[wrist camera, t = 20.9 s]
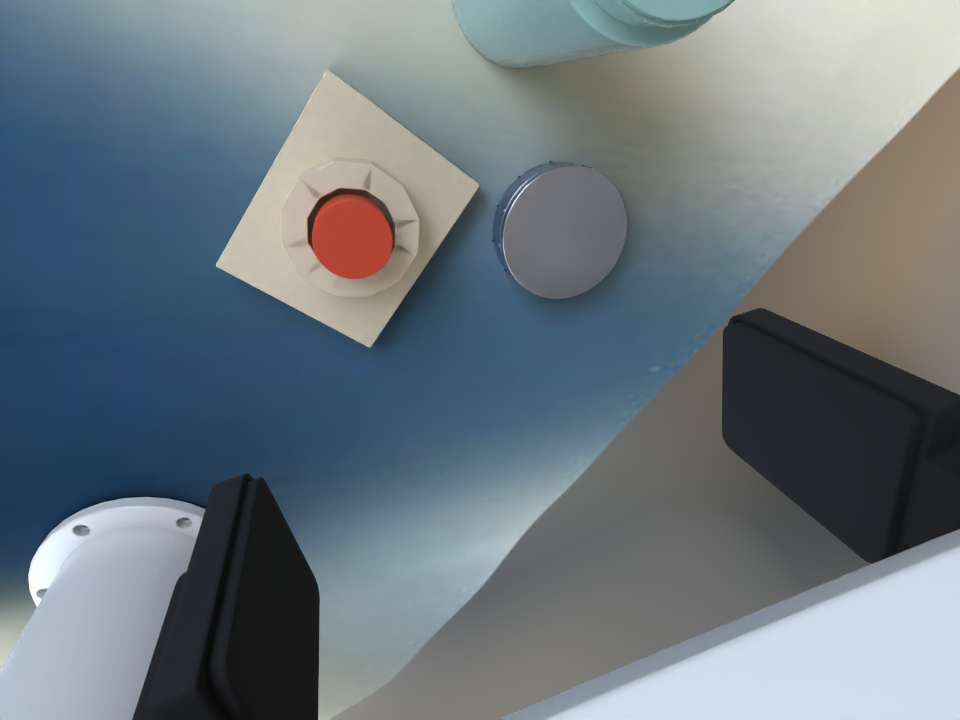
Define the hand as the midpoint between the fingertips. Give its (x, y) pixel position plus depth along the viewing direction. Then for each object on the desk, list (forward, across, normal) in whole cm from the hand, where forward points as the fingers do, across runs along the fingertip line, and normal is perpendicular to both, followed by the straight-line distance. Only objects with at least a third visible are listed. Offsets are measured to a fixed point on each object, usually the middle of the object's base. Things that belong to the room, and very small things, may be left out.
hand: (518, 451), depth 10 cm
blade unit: (+20, -9, +2) cm, 22 cm away
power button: (+19, +2, -1) cm, 19 cm away
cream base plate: (+22, +2, -1) cm, 22 cm away
